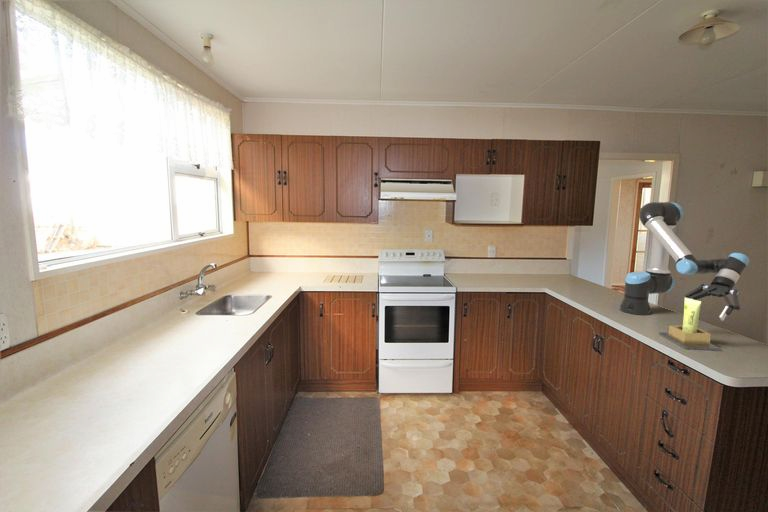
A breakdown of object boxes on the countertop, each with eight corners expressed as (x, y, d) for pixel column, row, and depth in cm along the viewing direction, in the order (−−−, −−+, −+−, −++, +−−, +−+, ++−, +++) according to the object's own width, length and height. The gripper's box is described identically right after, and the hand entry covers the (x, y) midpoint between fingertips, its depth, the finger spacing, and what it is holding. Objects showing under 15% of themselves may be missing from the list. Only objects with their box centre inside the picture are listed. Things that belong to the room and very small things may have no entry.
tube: (679, 340, 161) (684, 299, 158) (679, 336, 165) (684, 297, 162) (696, 343, 157) (701, 301, 154) (695, 339, 161) (701, 299, 158)
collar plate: (658, 334, 171) (660, 322, 170) (690, 335, 169) (691, 323, 168) (685, 349, 153) (687, 336, 152) (720, 350, 151) (722, 337, 151)
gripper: (762, 291, 156) (739, 327, 153) (696, 280, 179) (675, 311, 176) (758, 280, 154) (735, 317, 150) (691, 271, 176) (669, 302, 173)
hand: (702, 314), depth 163 cm, fingers open, 13 cm apart
